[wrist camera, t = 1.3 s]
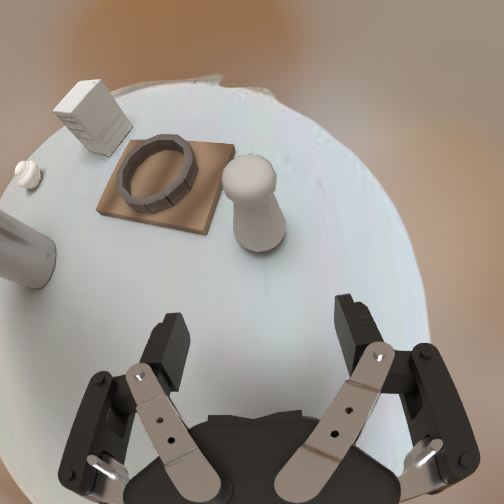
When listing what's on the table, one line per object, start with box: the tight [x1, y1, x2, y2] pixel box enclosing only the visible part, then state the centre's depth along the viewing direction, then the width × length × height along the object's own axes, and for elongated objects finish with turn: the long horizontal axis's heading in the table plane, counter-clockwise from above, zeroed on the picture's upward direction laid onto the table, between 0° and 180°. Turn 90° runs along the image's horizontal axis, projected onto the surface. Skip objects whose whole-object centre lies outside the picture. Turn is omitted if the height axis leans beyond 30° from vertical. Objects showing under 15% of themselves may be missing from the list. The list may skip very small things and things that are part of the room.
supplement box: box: [53, 80, 133, 157], centre depth 35 cm, size 7×7×13 cm
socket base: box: [96, 134, 235, 235], centre depth 34 cm, size 18×13×4 cm
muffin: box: [15, 161, 41, 188], centre depth 39 cm, size 6×6×7 cm
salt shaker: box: [222, 154, 286, 252], centre depth 26 cm, size 6×6×13 cm
